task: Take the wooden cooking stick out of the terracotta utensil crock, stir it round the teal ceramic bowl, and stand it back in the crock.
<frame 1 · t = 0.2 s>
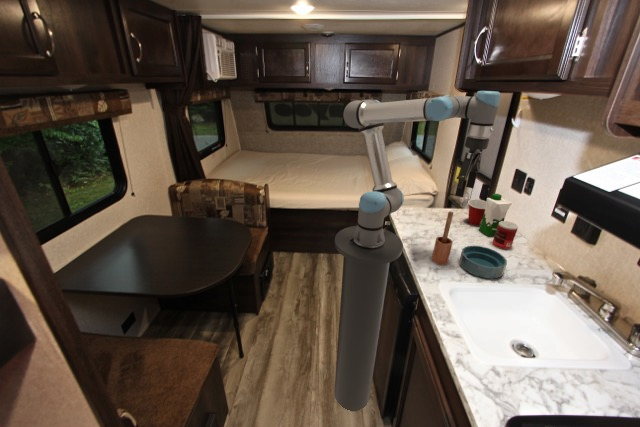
hand: (464, 191, 115), 31 cm above the worktop, tool pointing down, fingers open, 13 cm apart
canned food: (501, 245, 138), on the worktop
stick: (439, 258, 125), point 1 cm above the worktop, touching crock
plastic cup: (473, 223, 159), on the worktop
crock: (439, 260, 125), on the worktop
bowl: (480, 267, 121), on the worktop
milk carton: (489, 233, 149), on the worktop
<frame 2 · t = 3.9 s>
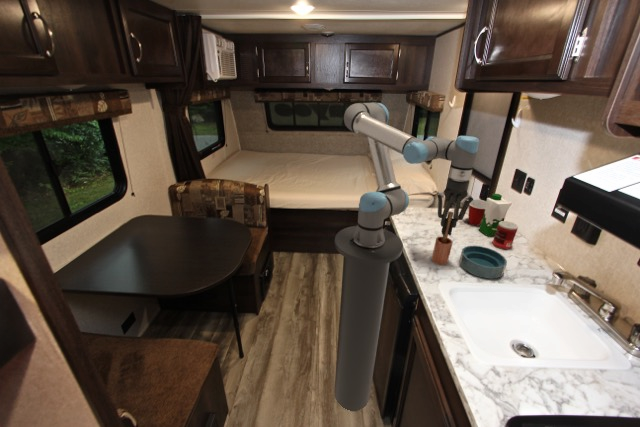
hand: (445, 233, 119), 13 cm above the worktop, tool pointing down, fingers closed on stick, 2 cm apart
stick: (439, 258, 125), point 1 cm above the worktop, touching crock, gripper
everything else where it was.
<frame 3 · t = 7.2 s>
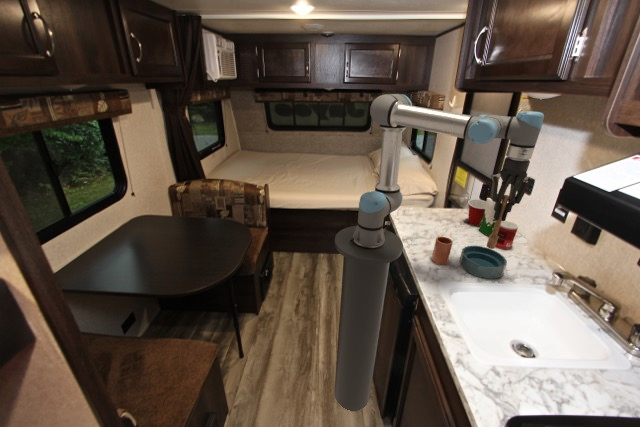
hand: (499, 218, 111), 23 cm above the worktop, tool pointing down, fingers closed on stick, 2 cm apart
stick: (490, 246, 116), point 10 cm above the worktop, touching gripper
everything else where it was.
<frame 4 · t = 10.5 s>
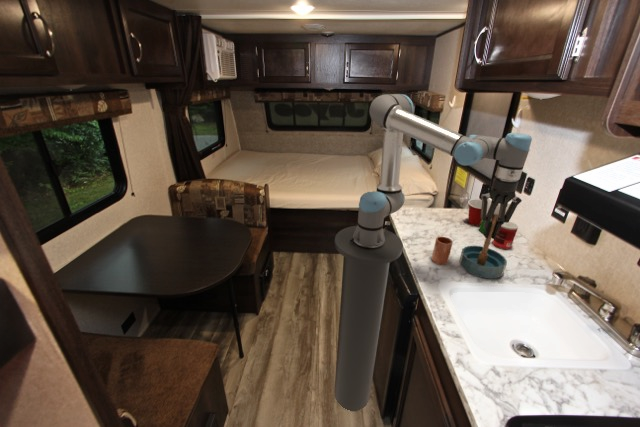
hand: (489, 236, 113), 16 cm above the worktop, tool pointing down, fingers closed on stick, 2 cm apart
stick: (480, 263, 118), point 3 cm above the worktop, touching gripper
everything else where it was.
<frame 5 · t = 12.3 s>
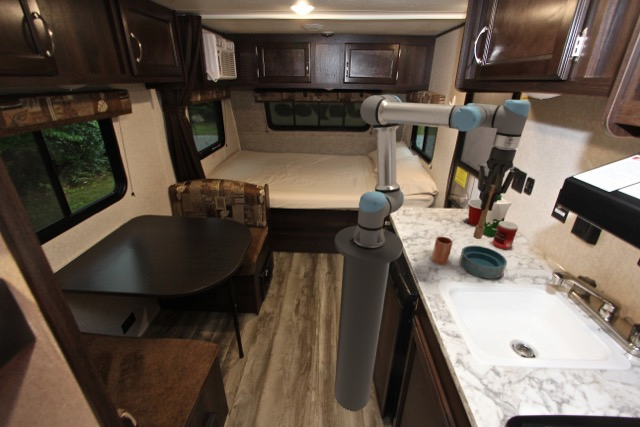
hand: (485, 208, 111), 26 cm above the worktop, tool pointing down, fingers closed on stick, 2 cm apart
stick: (477, 237, 117), point 14 cm above the worktop, touching gripper
everything else where it was.
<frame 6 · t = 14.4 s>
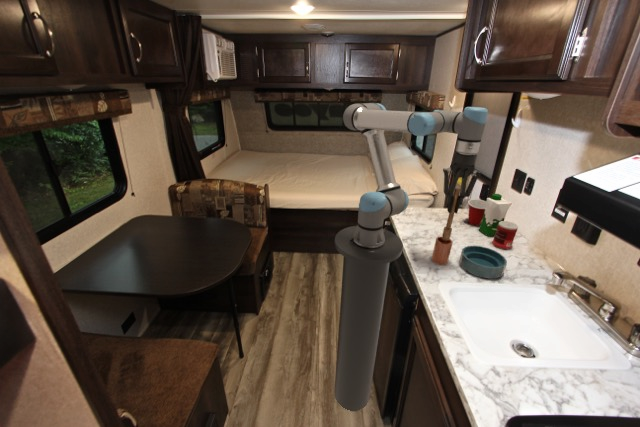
hand: (452, 211, 115), 23 cm above the worktop, tool pointing down, fingers closed on stick, 2 cm apart
stick: (445, 238, 120), point 11 cm above the worktop, touching gripper
everything else where it was.
when the fingers open (13 cm above the worktop, at t = 17.2 s): stick stays where it is, resting on crock.
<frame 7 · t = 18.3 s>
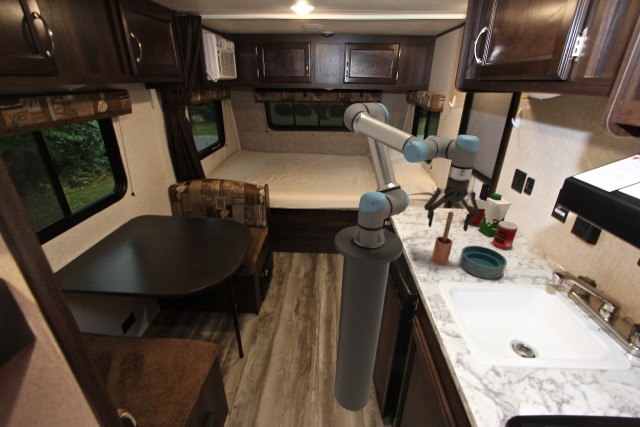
hand: (447, 227, 118), 16 cm above the worktop, tool pointing down, fingers open, 13 cm apart
stick: (440, 259, 125), point 1 cm above the worktop, touching crock
everything else where it was.
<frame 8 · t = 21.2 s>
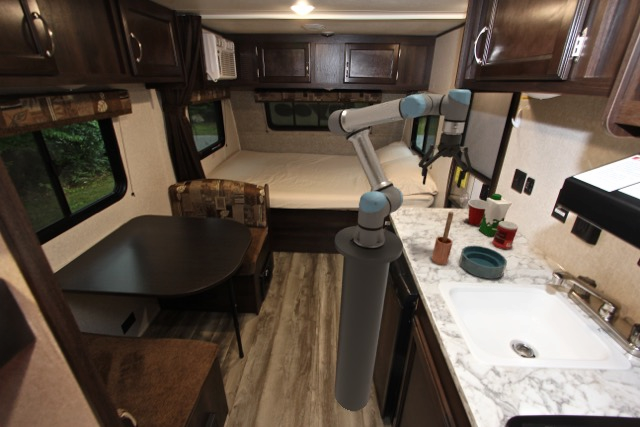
hand: (440, 185, 121), 31 cm above the worktop, tool pointing down, fingers open, 13 cm apart
nothing on the worktop moved.
at the end: stick 0.1 cm off-centre in the crock, point 0.8 cm above the crock's base; the gripper is holding nothing; stick tilted 0° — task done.
